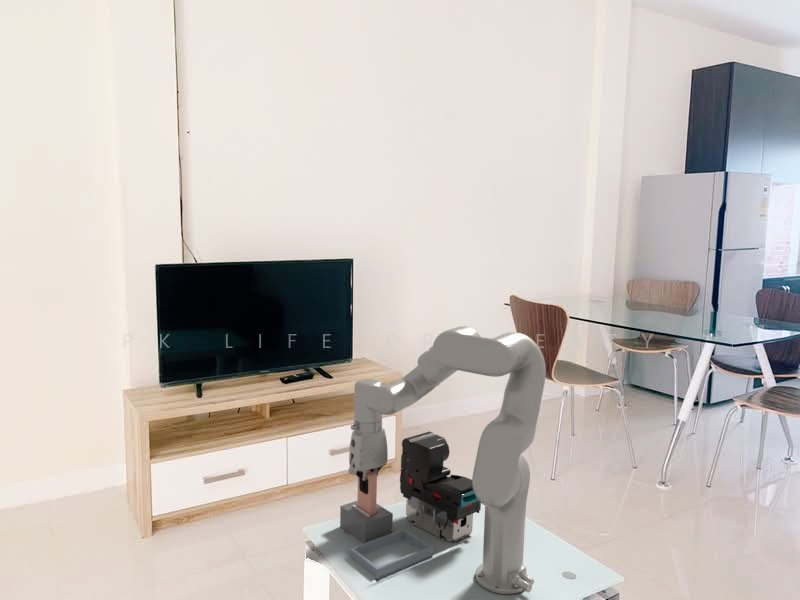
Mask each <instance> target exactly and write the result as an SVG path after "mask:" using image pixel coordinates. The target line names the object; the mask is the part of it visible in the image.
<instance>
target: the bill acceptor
mask: <svg viewBox="0 0 800 600" xmlns="http://www.w3.org/2000/svg"><path fill="white" fill-rule="evenodd" d="M401 447H402V450H401V452H402V453H401V456H400V457H401V458H400V473H399V474H400V475H399V484H400V486H399V489H400V493H401V494H402V497H403V498H405V499H406V501H405V503H406V505H405V516H406V520H407V521H409V522H410V525H412V526H416V527H417V528H420V529H422V530H424V531H425V532H428V534H429V533H430V534H432V536H433V535H434V536H436V537H437V538H439V540H441V541H443V542H446V541H447V542H449V543H452V542H453V543H458V544H462V543H463V542H465V541H467V540H468V539H471V538H472V536H471V535H472V532H473V527H474V526H473V524H474V514H475V513H477V514H480V511H481V506H482V505H481V504H482V503H481V502H480V501H479V500H478V499H477V498H476V496H475V494H474V491H473V487H472V479H471V478H469V477H466V476H462V475H457V474H451V469H450V468H449V467H446V466H444V463H445V461H447V460H448V458H449V457H450V446H449V444H448V442H447V440H446V439H445V437H443V436H440V435H438V434H435V433H434V432H432V431H429V430H428V431H427V432H423V433H420V434H415V435H413V436H410V437H406V438H403V439H402V441H401Z"/></svg>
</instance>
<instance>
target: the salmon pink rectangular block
mask: <svg viewBox="0 0 800 600" xmlns="http://www.w3.org/2000/svg"><path fill="white" fill-rule="evenodd" d="M367 480H368V494H365V493H363V492H361V491H360V488H359V477H358V476H357V499H356V501H357V507H358V508H360V509H361V510H363V511H365V512H366V513H368V514H369V515H370V516H371V515H374V514H376V504H377V497H378V496H377V492H378V491H377V489H378V485H377V484H378V476H377V474H375V473H373V472H371V471H370V470H367Z"/></svg>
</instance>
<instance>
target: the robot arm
mask: <svg viewBox="0 0 800 600" xmlns="http://www.w3.org/2000/svg"><path fill="white" fill-rule="evenodd" d="M546 368H547V367H546V362H545V357H544V355H543V352H542V350H541V348H540V347H539V346H538V344H537V343H536V342H535V341H534V340H533V339H532V338H531V337H529V336H528V335H527V334H525V333H524V334H523V333H521V332H515V331H513V332H506V333H503V334H500V335H499V336H495V337H493V338H490V337H489V338H488V337H483V336H481V334H479V332H478V331H477V330H476V329H474V328H473V327H472V326H471V327H470V326H466V325H462V326H457V327H455V328H454V327H453V328H451V329H447V330H445V331H443V332H441V333H439V334H438V335H437V336H436V337H435V339H434V342H433V344H432V346H431V347H430V348H428V349H427V350H425V351H424V352H423V353H421V354H420V355H419V357H418V359H417V365H416V366H415V368H413V369H412V370H410V372H408V373H407V374H405V375H404V376H403V377H401V378H399V379H398V380H395V381H393V382H390V383H387V384H382V382H381V381H380V380H378V379H375V378H363V379H359V380H357V381H356V382H355V384H354V389H353V400H354V401H353V404H354V405H353V406H354V407H353V424H351V425H350V429H351V430H352V432H351V436H350V443H349V452H348V453H349V455H348V462H349V468H348V471H347V473H348V474H350V475H351V476H356V477H357V478H358V477H359V488H360V491H361V492H363V493H365V494H368V480H367V470H370V471H371V472H373V473H375V474H377V477H378V476H379V473H380V471H381V469H382V468H384V467H385V466H386V465H387V464H388V458H389V457H388V456H389V455H388V454H389V453H388V441H387V435H386V431H385V429H384V428H383V415H385V416H391V415H393V414H396V413H398V412H400V411H401V410H402V411H403V410H404V409H406V408H409V407H410V406H412V405H414V404H415V403H417V402H418V401H419V400H421V399H422V398H423V397H425V396H426V395H427V394H429V393H430V392H432V391H433V390H434V389H435V388H436V387H439V386H440V385H441V383H443V382H444V381H446V380H447V379H449V378H450V377H451V376H452V375H453V374H455V373H456V372H457V371H461V372H465V373H470V374H476V375H480V376H484V377H485V376H487V377H491V378H492V377H494V378H496V377H503V376H506V375H508V374H509V377H508V380H507V383H506V385H505V389H504V392H503V398H502V403H501V408H500V411H499V413H498V415H497V417H496V418H494V419H492V420H491V421H490V422H489V423H487V425H485V427H484V429H483V431H482V432H481V435H480V437H479V441H478V442H479V443H478V448H477V451H476V458H475V462H474V467H473V473H472V479H471V480H472V487H473V491H474V494H475V496H476V498H477V499H478V500H479V501H480V502H481V504H482V505H484V523H483V525H484V526H483V545H482V547H483V549H482V563H481V564H480V565H478V567H477V568H476V570H475V580H476V581H477V583H478V584H479V585H480V586H481V587H482V588H484V589H486V590H487V591H490V592H492V593H496V594H500V595H513V594H518V593H521V592H526V593H530V592H531V591H532V588H533V585H534V583H535V579H533V578H532V577H530V576H529V574H528V573H527V566H525V565H523V564H524V547H525V531H526V529H525V528H526V527H525V526H526V512H527V511H526V510H527V501H528V500H527V499H528V494H529V488H530V483H531V482H530V481H531V469H530V466H529V463H528V461H527V459H526V458H525V456H524V455H522V454H523V453H524V452H525V451H527V450H528V448H529V447H530V446H531V445H532V443H533V442H534V439H535V437H536V429H537V423H538V418H539V415H540V410H541V405H542V404H541V403H542V400H543V399H542V398H543V392H544V389H545V388H544V387H545V384H546V374H547V373H546V371H547V369H546Z"/></svg>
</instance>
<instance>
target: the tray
mask: <svg viewBox="0 0 800 600" xmlns="http://www.w3.org/2000/svg"><path fill="white" fill-rule="evenodd" d="M402 539H405V540H406V541H408V542H409V543H410V544H412V545H414V546H415V547H417V548H418V550H416V551H413V552H410V553H409V554H406V555H404V556H402V557H399V558H397V559H394V560H392V561H390V562H387V563H384V564H381V565H379V566H377V565H376V564H375V563H373V562H372V561H371V560H369V559H368V558H366V557H365V556H364V555H363V554H366V553H367V552H371V551H372V550H375V549H378V548H381V547H383V546H386V545H387V544H391V543H393V542H396V541H399V540H402ZM433 548H434V546H432V544H429V543H427V542H426V541H425V540H424V539H422V538H420V537H418V536H417V535H415V534H413V533H412V532H411V531H409V530H407V529H406V528H402V529H399V530H396V531H394V532H393V531H392V533H391V534H388V535H385V536H383V537H380V538H377V539H375V540H372V541H369V542H367V543H364V544H363V543H361V544H359V545H355V546H354V547H350V548H349V557H350V558H351V559H352V560H354V561H355V563H358V565H360V566H361V567H362V568H364V569H365V570H366V571H368V572H369V573H370V574H372V575H373V576H374V577H375V579H373V580H374V581H376V582H379V581H381V580H383V579H386V578H389V577H390V576H392V575H394V574H397V573H400V572H402V571H405V570H407V569H409V568H411V567H414V566H416V565H419V564H422V563H423V562H425V561H427V560H430V559H432V558H433V550H434V549H433Z"/></svg>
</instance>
